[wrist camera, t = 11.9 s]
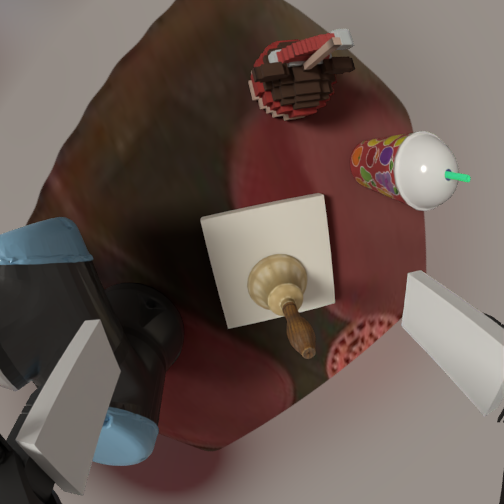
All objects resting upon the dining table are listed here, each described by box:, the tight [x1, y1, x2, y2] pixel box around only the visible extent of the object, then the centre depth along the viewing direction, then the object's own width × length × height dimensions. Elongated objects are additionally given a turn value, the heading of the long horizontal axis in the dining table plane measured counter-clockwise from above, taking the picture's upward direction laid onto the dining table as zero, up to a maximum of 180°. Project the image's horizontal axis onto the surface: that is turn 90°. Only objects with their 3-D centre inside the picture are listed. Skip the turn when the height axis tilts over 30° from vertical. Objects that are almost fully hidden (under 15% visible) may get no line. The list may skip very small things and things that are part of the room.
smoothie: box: [350, 131, 470, 211], centre depth 30 cm, size 8×8×20 cm
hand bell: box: [247, 254, 316, 359], centre depth 33 cm, size 8×8×16 cm
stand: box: [200, 193, 335, 329], centre depth 41 cm, size 16×16×2 cm
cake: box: [248, 29, 355, 121], centre depth 26 cm, size 11×9×18 cm
